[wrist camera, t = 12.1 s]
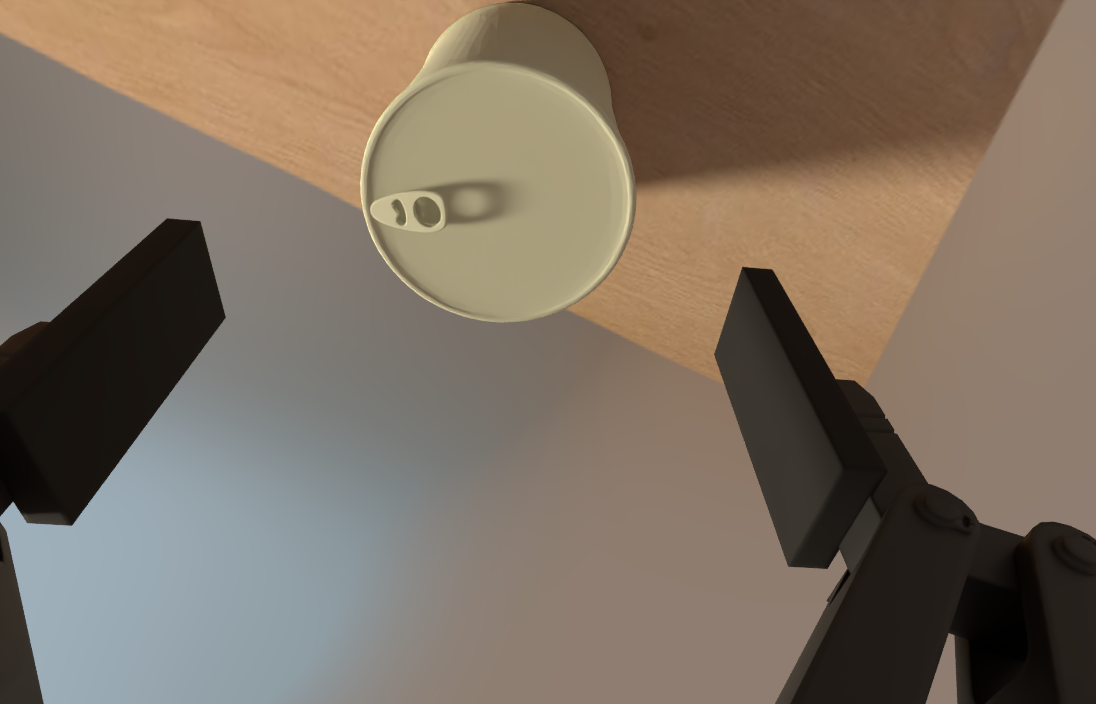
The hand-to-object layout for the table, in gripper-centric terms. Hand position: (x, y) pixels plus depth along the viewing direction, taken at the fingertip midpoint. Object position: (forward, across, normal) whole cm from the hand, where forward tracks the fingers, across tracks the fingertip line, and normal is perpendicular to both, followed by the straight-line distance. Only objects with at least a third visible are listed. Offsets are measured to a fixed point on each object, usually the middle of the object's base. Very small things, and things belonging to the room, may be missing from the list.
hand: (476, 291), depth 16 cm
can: (+18, 0, -1) cm, 18 cm away
